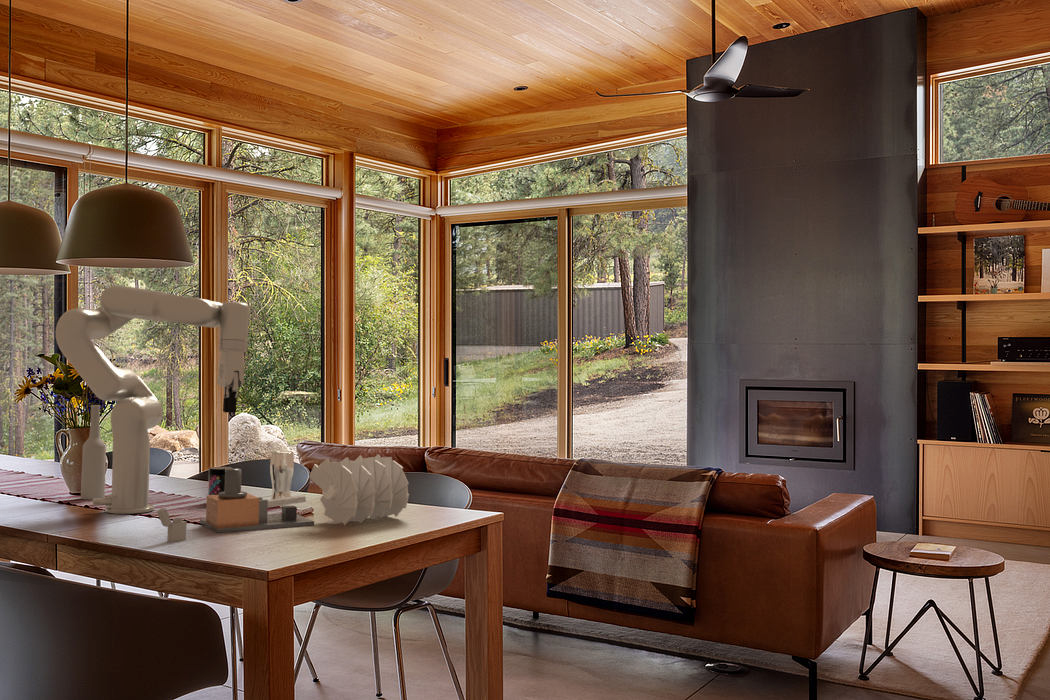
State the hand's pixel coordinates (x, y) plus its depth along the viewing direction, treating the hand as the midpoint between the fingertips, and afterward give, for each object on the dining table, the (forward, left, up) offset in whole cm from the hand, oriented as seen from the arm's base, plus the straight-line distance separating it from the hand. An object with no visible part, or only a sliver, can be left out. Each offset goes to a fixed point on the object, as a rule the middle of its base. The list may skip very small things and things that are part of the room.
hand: (229, 412), depth 258 cm
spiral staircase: (+29, -28, -28) cm, 49 cm away
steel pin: (-4, -21, -27) cm, 34 cm away
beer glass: (+21, +15, -28) cm, 38 cm away
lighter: (-22, -35, -28) cm, 50 cm away
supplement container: (+4, +20, -28) cm, 35 cm away
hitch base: (+1, -21, -28) cm, 35 cm away
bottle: (-27, +45, -28) cm, 60 cm away
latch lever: (+9, -21, -23) cm, 32 cm away
